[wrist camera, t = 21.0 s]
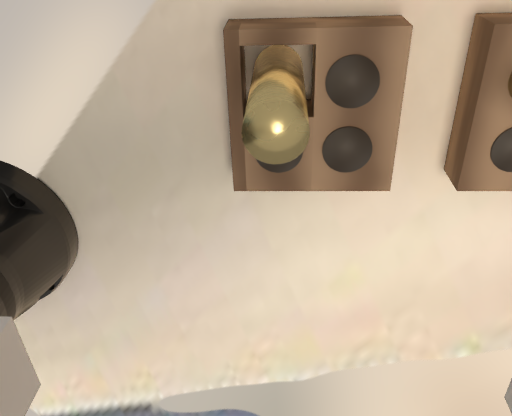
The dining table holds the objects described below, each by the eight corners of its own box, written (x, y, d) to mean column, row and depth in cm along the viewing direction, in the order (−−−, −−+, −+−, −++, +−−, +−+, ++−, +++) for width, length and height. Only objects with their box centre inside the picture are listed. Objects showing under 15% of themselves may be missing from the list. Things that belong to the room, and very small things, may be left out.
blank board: (237, 169, 40) (233, 192, 36) (228, 19, 33) (222, 30, 30) (382, 169, 39) (390, 192, 36) (401, 15, 32) (413, 26, 29)
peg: (254, 92, 36) (241, 163, 26) (254, 44, 34) (241, 99, 24) (301, 93, 36) (307, 165, 26) (304, 45, 34) (312, 101, 24)
